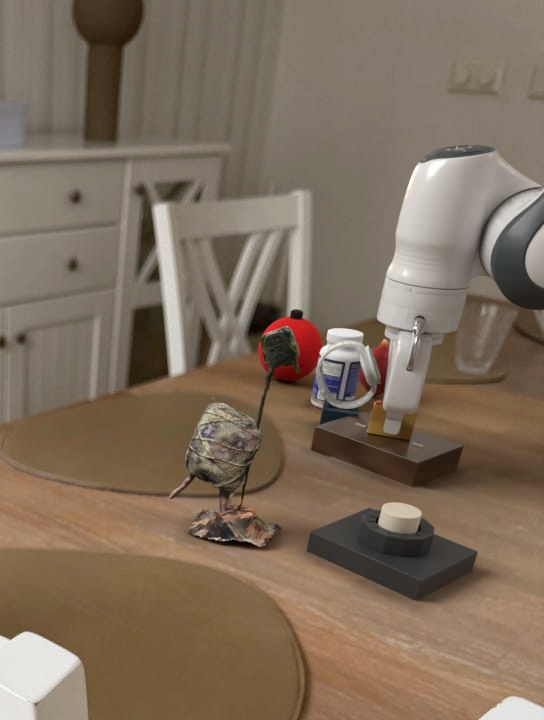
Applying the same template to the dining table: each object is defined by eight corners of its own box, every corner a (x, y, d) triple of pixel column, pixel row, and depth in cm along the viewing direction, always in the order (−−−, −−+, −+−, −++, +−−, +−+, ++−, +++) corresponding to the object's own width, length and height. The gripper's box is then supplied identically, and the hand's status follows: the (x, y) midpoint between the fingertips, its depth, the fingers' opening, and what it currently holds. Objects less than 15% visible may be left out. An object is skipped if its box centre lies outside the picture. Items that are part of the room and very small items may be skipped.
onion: (401, 398, 139) (416, 341, 135) (382, 406, 136) (396, 348, 131) (365, 388, 143) (377, 332, 138) (345, 395, 139) (357, 338, 135)
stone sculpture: (195, 501, 103) (223, 306, 93) (292, 535, 97) (333, 331, 87) (152, 524, 97) (176, 319, 87) (252, 561, 92) (291, 347, 81)
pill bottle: (341, 398, 137) (357, 326, 132) (358, 412, 133) (375, 338, 127) (303, 398, 136) (317, 325, 131) (319, 412, 132) (334, 337, 126)
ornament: (326, 381, 144) (340, 311, 139) (298, 393, 138) (312, 321, 133) (271, 367, 149) (283, 299, 144) (242, 378, 143) (254, 308, 137)
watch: (369, 440, 122) (389, 352, 117) (304, 431, 124) (321, 344, 118) (368, 426, 127) (388, 341, 121) (306, 418, 129) (322, 333, 123)
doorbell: (472, 572, 93) (484, 533, 91) (415, 602, 87) (427, 562, 85) (364, 527, 100) (373, 490, 98) (305, 551, 94) (313, 513, 92)
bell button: (424, 529, 92) (429, 512, 91) (403, 538, 89) (408, 521, 88) (391, 515, 94) (395, 499, 93) (370, 524, 92) (374, 507, 91)
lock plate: (457, 469, 116) (464, 444, 114) (411, 487, 110) (418, 461, 109) (357, 434, 125) (362, 410, 123) (310, 449, 119) (315, 424, 117)
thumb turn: (410, 437, 116) (418, 406, 114) (410, 440, 115) (418, 409, 113) (367, 429, 117) (375, 399, 115) (366, 433, 116) (374, 402, 114)
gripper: (452, 333, 99) (417, 462, 106) (448, 294, 116) (419, 407, 123) (388, 324, 100) (358, 452, 108) (393, 287, 117) (367, 400, 124)
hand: (390, 428), depth 115 cm, fingers closed
